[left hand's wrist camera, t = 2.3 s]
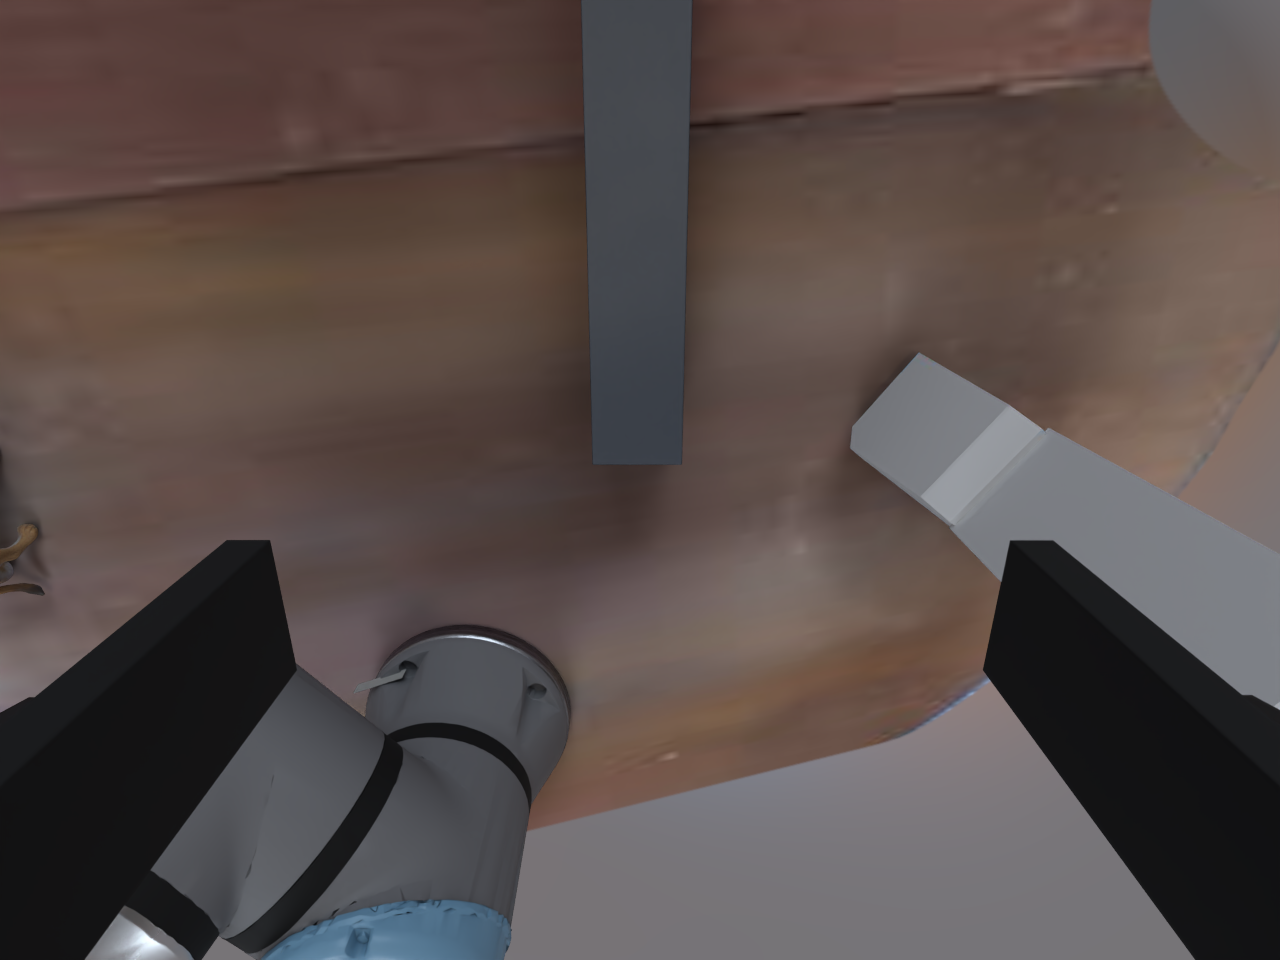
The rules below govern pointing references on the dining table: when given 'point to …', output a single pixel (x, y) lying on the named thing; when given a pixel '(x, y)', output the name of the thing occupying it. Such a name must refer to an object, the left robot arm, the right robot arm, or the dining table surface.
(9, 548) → the lion figurine
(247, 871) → the left robot arm
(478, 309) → the dining table surface
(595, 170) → the post
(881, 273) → the dining table surface
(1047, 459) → the electronic device
